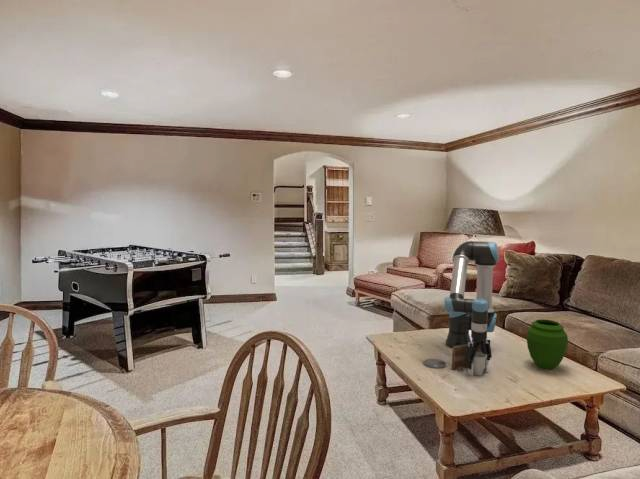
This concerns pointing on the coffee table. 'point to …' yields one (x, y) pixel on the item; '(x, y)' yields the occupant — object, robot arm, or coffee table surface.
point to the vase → (547, 343)
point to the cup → (479, 363)
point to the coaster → (434, 363)
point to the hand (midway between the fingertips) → (477, 373)
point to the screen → (460, 357)
